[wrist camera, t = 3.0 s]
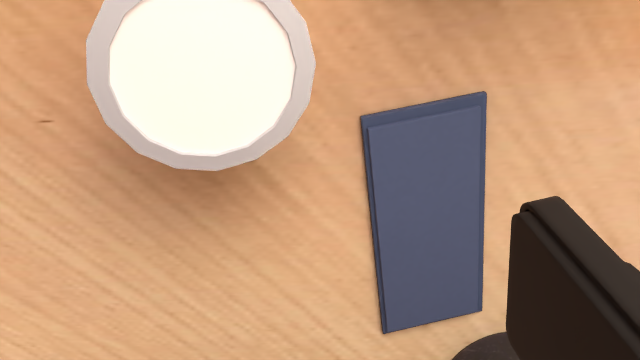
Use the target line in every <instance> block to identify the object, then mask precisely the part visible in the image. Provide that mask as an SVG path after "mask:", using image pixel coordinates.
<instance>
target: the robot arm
mask: <svg viewBox="0 0 640 360" xmlns="http://www.w3.org/2000/svg"><path fill="white" fill-rule="evenodd" d="M506 331H507V335H508V339H509V341H510V344H511V346H512V348H513V349H514V351H515V352H516V354H517V356H518V357H519V359H520V360H640V271H639V270H637V269H636V268H635V267H634V266H632V265H631V264H630V263H627V262H624V261H623V260H622V259H621V258H620V257H619V256H618V255H617V254H616V253H615V252H614V251H613V250H612V249H611V248H610V247H609V246H608V245H607V244H606V243H605V242H604V241H603V240H602V239H601V238H600V237H599V236H598V235H597V234H596V233H595V232H594V231H593V230H592V229H591V228H590V227H589V226H588V225H587V224H586V223H585V222H584V221H583V220H582V219H581V218H580V217H579V216H578V215H577V214H576V213H575V212H574V210H573V209H572V208H571V207H570V206H569V205H568V204H567V203H566V202H565V201H564V200H562V199H561V198H560V197H557V196H553V197H549V198H544V199H540V200H536V201H531V202H527V203H524V204H522V206H521V208H520V213H518V214H515V215H513V217H512V221H511V239H510V258H509V277H508V296H507V315H506Z"/></svg>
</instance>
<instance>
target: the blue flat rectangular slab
mask: <svg viewBox="0 0 640 360" xmlns="http://www.w3.org/2000/svg"><path fill="white" fill-rule="evenodd" d="M486 103H487V93H486V92H485V91H482V92H478V93H473V94H468V95H463V96H458V97H453V98H448V99H443V100H438V101H433V102H428V103H423V104H418V105H413V106H408V107H403V108H398V109H393V110H388V111H383V112H378V113H373V114H369V115H364V116H361V117H360V118H361V127H362V137H363V147H364V157H365V166H366V176H367V186H368V196H369V206H370V215H371V225H372V235H373V245H374V254H375V264H376V274H377V284H378V293H379V303H380V313H381V323H382V331H383V334H386V333H390V332H394V331H399V330H403V329H407V328H411V327H416V326H420V325H424V324H428V323H432V322H437V321H441V320H445V319H449V318H454V317H458V316H462V315H466V314H471V313H475V312H479V311H482V292H483V245H484V198H485V150H486Z"/></svg>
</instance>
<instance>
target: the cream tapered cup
mask: <svg viewBox="0 0 640 360" xmlns="http://www.w3.org/2000/svg"><path fill="white" fill-rule="evenodd" d="M86 59H87V85H88V87H89V90H90V92H91V94H92V96H93V98H94V100H95V102H96V104H97V107H98V109H99V111H100V113H101V115H102V117H103V119H104V121H105V124H107V125H108V126H109V127H110V128H111V129H112V130H113V131H114V132H115V133H116V134H117V135H118V136H120V137H121V138H122V139H123V140H124V141H125V142H126V143H127V144H128V145H129V146H130V147H131V148H133V149H134V150H135V151H136V152H137V153H139V154H142V155H144V156H146V157H149V158H151V159H154V160H156V161H159V162H161V163H163V164H166V165H168V166H171V167H173V168H175V169H190V170H209V171H219V170H222V169H226V168H229V167H233V166H236V165H240V164H243V163H246V162H250V161H253V160H256V159H258V158H259V157H260V156H262V155H263V154H265V153H266V152H267V151H269V150H270V149H271V148H273V147H274V146H275V145H277V144H278V143H280V142H281V141H282V140H284V139H285V138H286V137H288V136H289V134H290V132H291V131H292V129H293V128H294V126H295V125H296V123H297V121H298V120H299V118H300V117H301V115H302V113H303V112H304V110H305V109H306V107H307V106H308V104H309V101H310V95H311V89H312V83H313V78H314V72H315V66H316V61H315V57H314V53H313V49H312V45H311V41H310V36H309V32H308V28H307V24H306V22H305V20H304V19H303V18H302V16H301V15H300V13H299V12H298V11H297V9H296V8H295V7H294V5H293V4H292V3H291V1H290V0H104V2H103V4H102V6H101V9H100V11H99V13H98V15H97V17H96V20H95V22H94V24H93V26H92V28H91V31H90V33H89V35H88V37H87V39H86Z"/></svg>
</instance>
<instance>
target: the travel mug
mask: <svg viewBox="0 0 640 360" xmlns="http://www.w3.org/2000/svg"><path fill="white" fill-rule="evenodd" d="M453 360H520V359H519V357H518V356H517V354H516V352H515V351H514V349H513V348H512V346H511V344H510V341H509V339H508V335H507V332H504V333H498V334H494V335H490V336H487V337H484V338H482V339H480V340H478V341H476V342H474V343H472V344H470V345H469V346H467V347H466V348H465V349H463V350H462V351H461V352H460V353H458V354H457V355H456V356H455V357H454V359H453Z"/></svg>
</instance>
